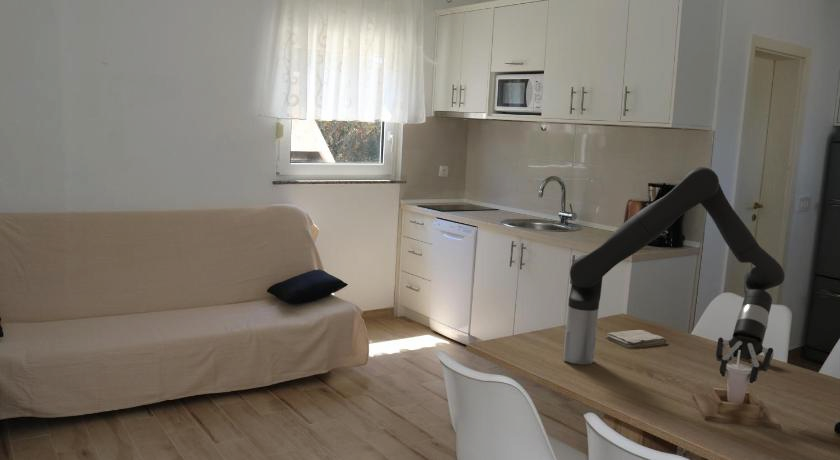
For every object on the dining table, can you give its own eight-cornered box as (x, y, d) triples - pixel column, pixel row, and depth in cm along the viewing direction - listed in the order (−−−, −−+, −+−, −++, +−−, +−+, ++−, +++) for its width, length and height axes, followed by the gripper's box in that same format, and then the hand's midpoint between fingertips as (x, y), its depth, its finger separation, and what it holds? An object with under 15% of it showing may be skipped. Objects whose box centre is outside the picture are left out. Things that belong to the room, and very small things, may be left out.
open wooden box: (704, 420, 186) (706, 404, 185) (692, 397, 201) (693, 382, 201) (779, 428, 183) (781, 412, 182) (760, 404, 198) (762, 390, 198)
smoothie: (717, 396, 194) (723, 346, 192) (740, 396, 195) (746, 346, 193) (729, 405, 188) (736, 354, 186) (753, 406, 189) (759, 354, 187)
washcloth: (603, 339, 253) (604, 331, 252) (641, 335, 261) (642, 326, 260) (627, 350, 242) (628, 341, 242) (666, 345, 251) (667, 336, 250)
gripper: (722, 312, 198) (706, 364, 191) (780, 323, 190) (766, 378, 183) (724, 327, 204) (709, 378, 196) (780, 338, 196) (767, 392, 188)
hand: (736, 378), depth 189 cm, fingers closed on smoothie, 6 cm apart
